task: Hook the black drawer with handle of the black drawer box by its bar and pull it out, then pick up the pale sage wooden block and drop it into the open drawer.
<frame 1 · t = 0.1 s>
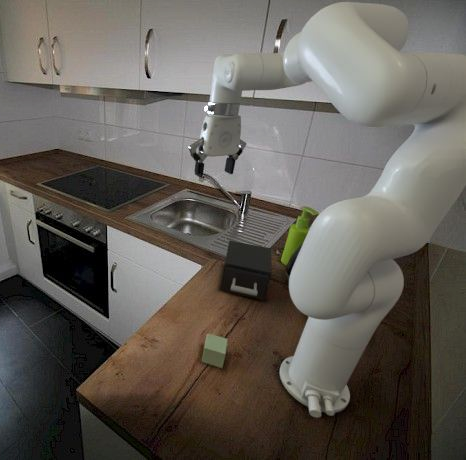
hand: (213, 174, 88), 31 cm above the worktop, tool pointing down, fingers open, 9 cm apart
block: (213, 357, 71), on the worktop
black computer mouse: (301, 283, 95), on the worktop
black drawer with handle: (244, 276, 90), point 5 cm above the worktop, slide at 0.0 cm
black drawer box: (242, 281, 96), on the worktop
soap dispenser: (291, 263, 105), on the worktop
decorated donut: (329, 327, 80), on the worktop
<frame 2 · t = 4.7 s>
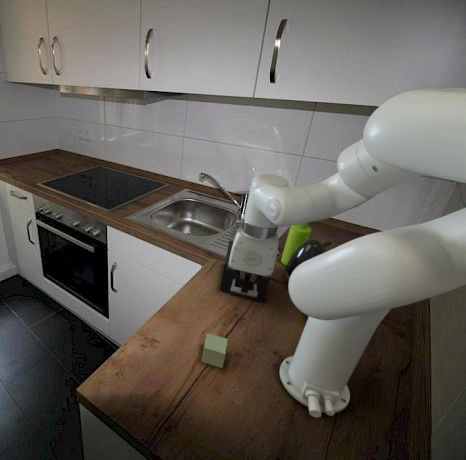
hand: (244, 289, 82), 7 cm above the worktop, tool pointing down, fingers closed
black drawer with handle: (244, 277, 89), point 5 cm above the worktop, slide at 0.5 cm, touching gripper
everything else where it was.
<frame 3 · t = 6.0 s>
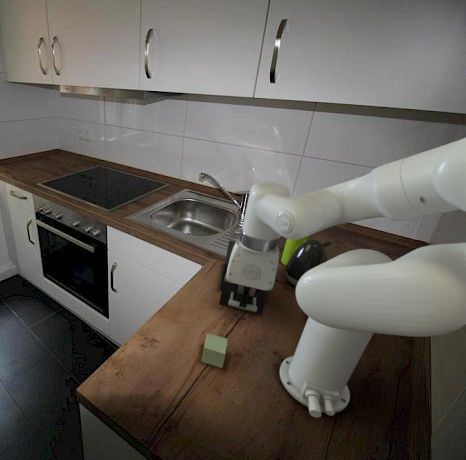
hand: (242, 303, 77), 7 cm above the worktop, tool pointing down, fingers closed
black drawer with handle: (243, 289, 85), point 5 cm above the worktop, slide at 6.4 cm, touching gripper
everything else where it was.
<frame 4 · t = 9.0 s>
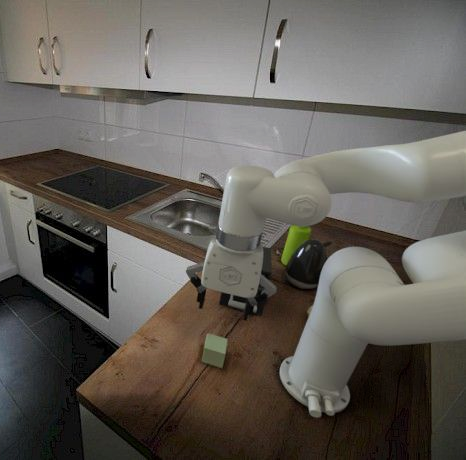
hand: (222, 310, 64), 14 cm above the worktop, tool pointing down, fingers open, 8 cm apart
black drawer with handle: (243, 290, 85), point 5 cm above the worktop, slide at 6.6 cm
everything else where it was.
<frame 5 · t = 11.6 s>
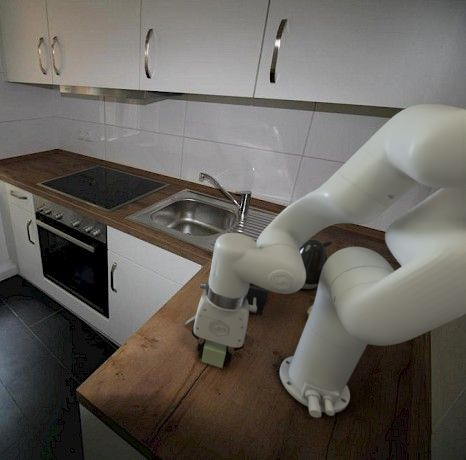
hand: (213, 356, 71), 0 cm above the worktop, tool pointing down, fingers closed on block, 4 cm apart
block: (213, 357, 71), on the worktop, touching gripper
everything else where it was.
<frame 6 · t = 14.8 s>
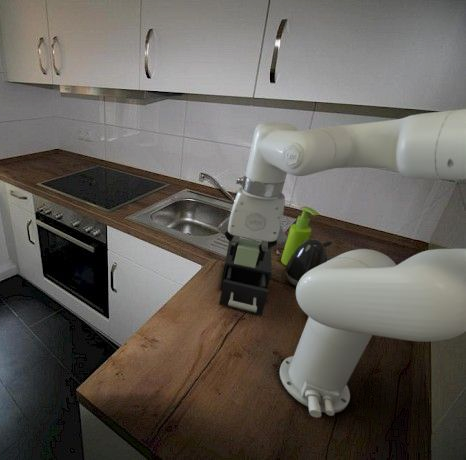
hand: (245, 259, 73), 18 cm above the worktop, tool pointing down, fingers closed on block, 4 cm apart
block: (244, 260, 73), point 18 cm above the worktop, touching gripper
everything else where it was.
when the fingers open (9 cm above the worktop, at t = 18.2 s): block drops 7 cm, resting on black drawer with handle.
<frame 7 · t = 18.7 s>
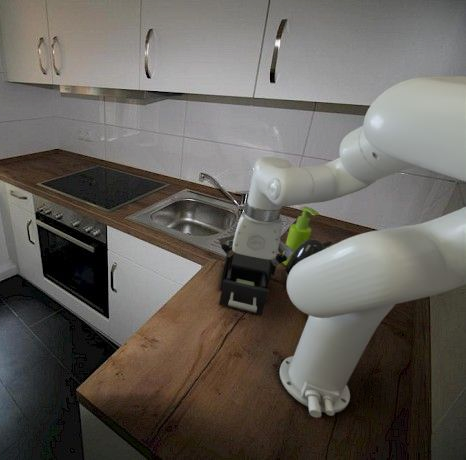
hand: (248, 271, 82), 11 cm above the worktop, tool pointing down, fingers open, 9 cm apart
block: (241, 298, 86), point 2 cm above the worktop, touching black drawer with handle
black drawer with handle: (243, 290, 85), point 5 cm above the worktop, slide at 6.6 cm, touching block
everything else where it was.
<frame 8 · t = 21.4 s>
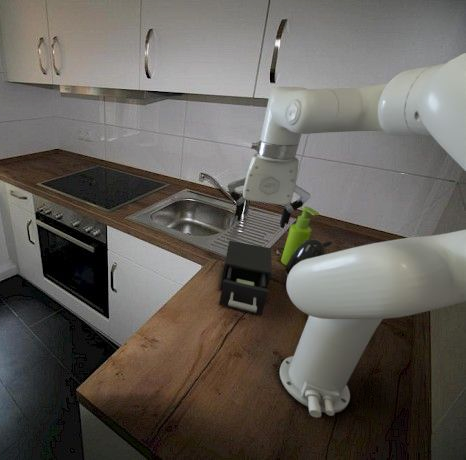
hand: (259, 222, 75), 25 cm above the worktop, tool pointing down, fingers open, 9 cm apart
nothing on the worktop moved.
at the end: black drawer with handle slide at 6.6 cm; block inside the target area in the black drawer with handle (5.8 cm from its centre), point 2.0 cm above the black drawer box's base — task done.
